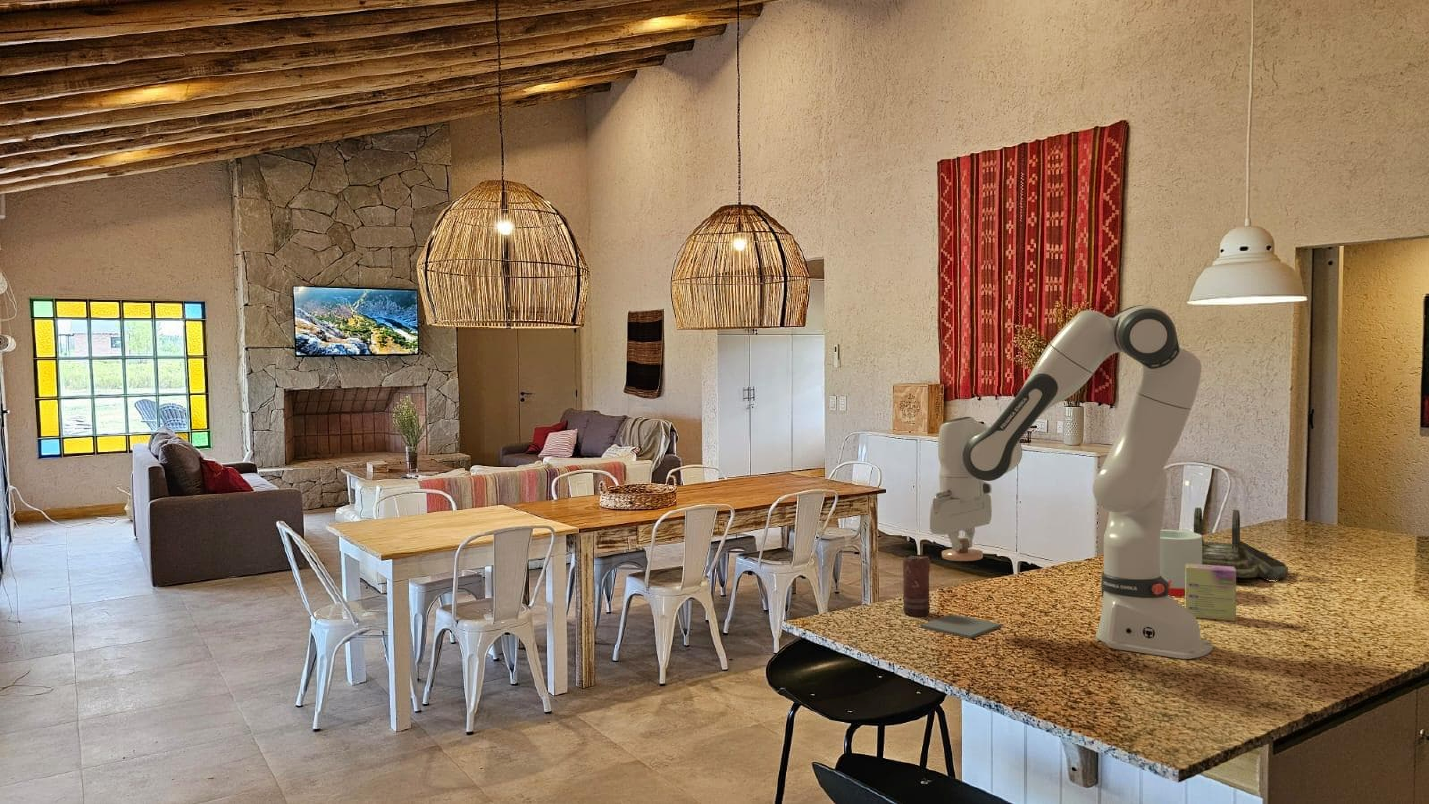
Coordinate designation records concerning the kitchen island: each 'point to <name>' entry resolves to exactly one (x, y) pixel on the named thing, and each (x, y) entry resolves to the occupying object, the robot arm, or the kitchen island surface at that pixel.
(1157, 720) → the kitchen island surface
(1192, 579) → the box
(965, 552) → the lid
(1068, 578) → the kitchen island surface
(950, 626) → the mat
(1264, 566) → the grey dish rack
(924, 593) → the can
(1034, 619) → the kitchen island surface
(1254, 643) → the kitchen island surface
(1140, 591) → the robot arm
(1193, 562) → the container
